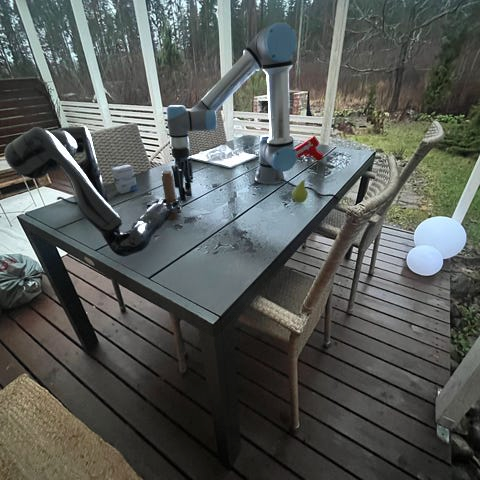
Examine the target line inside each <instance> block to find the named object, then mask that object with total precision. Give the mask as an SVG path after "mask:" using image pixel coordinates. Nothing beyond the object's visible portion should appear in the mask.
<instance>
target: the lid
mask: <svg viewBox="0 0 480 480" xmlns="http://www.w3.org/2000/svg"><path fill="white" fill-rule="evenodd" d="M191 191H192V189H191V190H190V188H185V194H186V195H188V194H190V193H191Z"/></svg>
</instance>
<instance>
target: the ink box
mask: <svg viewBox="0 0 480 480" xmlns="http://www.w3.org/2000/svg"><path fill="white" fill-rule="evenodd" d="M110 170H111V173H112V176H113V181H114V184H115V188H116V191H117V192H118V193H119V194H121V195H122V194H126V193H130V192H132V191H133V192H134V191H136V190H138V185H137V181H136V177H135V171H134V167H133V165H130V164H124V165H120V166H119V165H118V166H115V167H111V168H110Z"/></svg>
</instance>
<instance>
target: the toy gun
mask: <svg viewBox="0 0 480 480" xmlns="http://www.w3.org/2000/svg"><path fill="white" fill-rule="evenodd" d="M319 144H320V141H319V140H318V138H317V137H316V136H315V135H313V136H311V137H310V138H308V139H306V140H305V141H304V142H302V143H301V144H299V145H298V146H296V147H294V149H295V150H296V152H297V160H298V159H299V158H301V157H303V156H304V157H305V158H309V157H310V156H311V157H313V158H314V159H315V160H316V162H317V163H319V161H317V160H320V159H321V161H323V158H324V154H323V153H322V152H320V151H319V149H317V147H318V146H319Z"/></svg>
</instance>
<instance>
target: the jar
mask: <svg viewBox="0 0 480 480" xmlns="http://www.w3.org/2000/svg"><path fill="white" fill-rule="evenodd" d="M161 181H162V187H163V193H164V197H165V200H166V203H168V202H170V201H174V200H175V199H176V198H177V196H176V188H175V184H174V177H173V171H171V170H163V171H162V172H161ZM174 205H175V204H174ZM177 218H179V213H178V212H173V213H172V214H170V216H169V218H168V219H177Z"/></svg>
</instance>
